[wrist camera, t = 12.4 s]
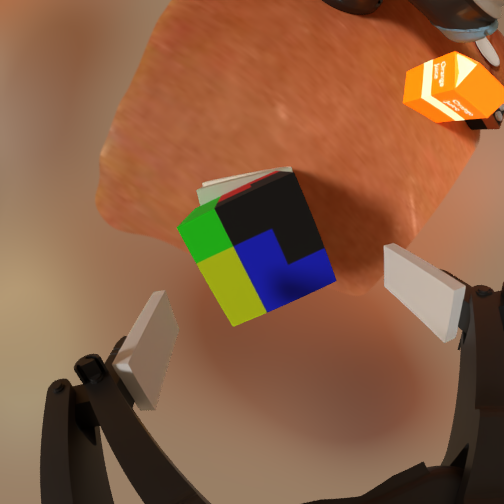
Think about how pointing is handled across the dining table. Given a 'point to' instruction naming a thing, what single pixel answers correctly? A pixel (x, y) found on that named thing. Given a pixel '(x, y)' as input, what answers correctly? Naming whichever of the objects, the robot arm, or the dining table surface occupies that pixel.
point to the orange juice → (452, 89)
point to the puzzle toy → (258, 246)
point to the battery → (488, 120)
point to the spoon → (488, 51)
